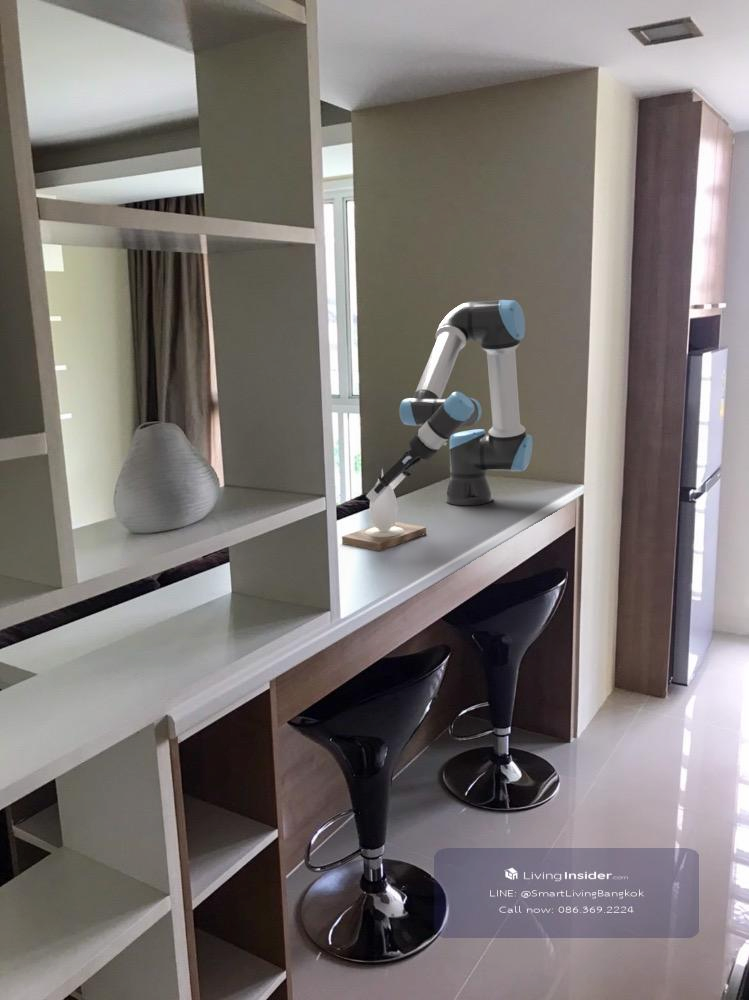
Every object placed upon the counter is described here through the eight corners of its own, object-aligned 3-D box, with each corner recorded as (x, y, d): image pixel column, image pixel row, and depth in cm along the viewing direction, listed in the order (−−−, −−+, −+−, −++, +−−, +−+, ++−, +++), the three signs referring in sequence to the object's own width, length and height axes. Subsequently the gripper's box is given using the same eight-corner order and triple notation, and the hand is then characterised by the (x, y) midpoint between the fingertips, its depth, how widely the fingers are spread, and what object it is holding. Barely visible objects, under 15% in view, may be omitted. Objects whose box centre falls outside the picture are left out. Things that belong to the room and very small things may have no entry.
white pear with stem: (395, 535, 230) (393, 471, 226) (368, 534, 231) (365, 471, 227) (400, 527, 237) (398, 465, 233) (373, 527, 239) (371, 465, 235)
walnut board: (389, 527, 247) (389, 520, 246) (426, 534, 237) (426, 526, 237) (342, 543, 232) (342, 535, 232) (379, 550, 223) (379, 543, 223)
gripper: (422, 459, 211) (371, 514, 220) (451, 443, 234) (404, 493, 243) (401, 438, 212) (351, 493, 221) (432, 424, 235) (386, 475, 244)
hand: (379, 493), depth 232 cm, fingers open, 13 cm apart
